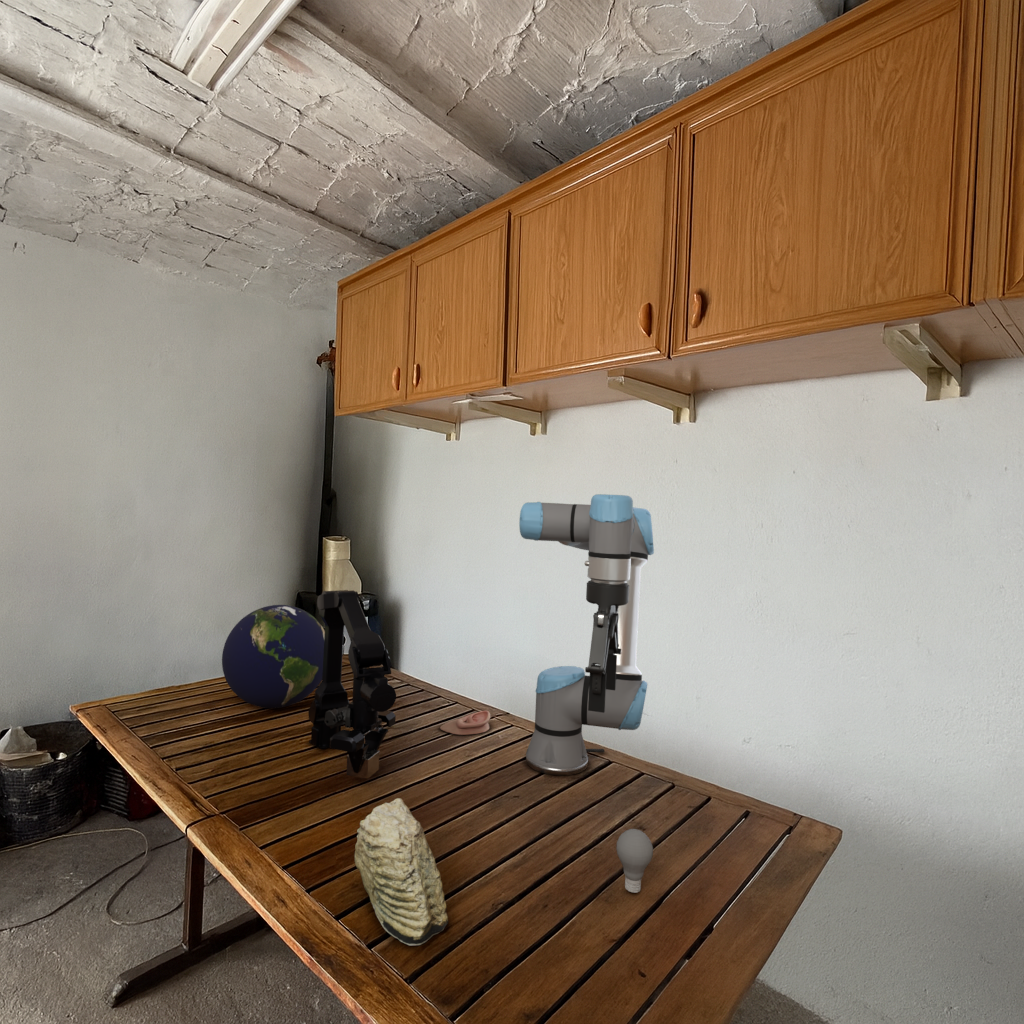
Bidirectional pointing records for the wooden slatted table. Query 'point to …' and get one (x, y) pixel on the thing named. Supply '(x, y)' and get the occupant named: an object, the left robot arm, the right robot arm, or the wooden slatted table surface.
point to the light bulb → (634, 857)
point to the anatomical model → (468, 724)
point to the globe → (274, 656)
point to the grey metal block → (365, 765)
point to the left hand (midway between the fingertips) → (362, 767)
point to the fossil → (400, 874)
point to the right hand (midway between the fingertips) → (602, 699)
